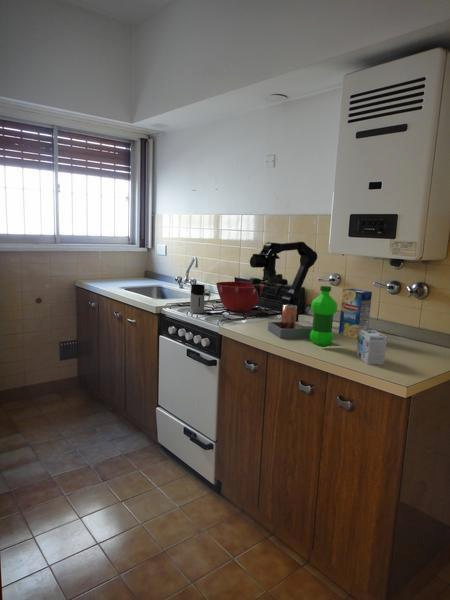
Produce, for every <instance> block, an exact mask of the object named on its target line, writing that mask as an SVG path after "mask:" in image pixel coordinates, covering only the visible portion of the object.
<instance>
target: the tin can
mask: <svg viewBox="0 0 450 600" xmlns="http://www.w3.org/2000/svg"><path fill="white" fill-rule="evenodd" d="M296 313H297V306H296V305H291V304H282V309H281V318H280V319H281V321H280V322H281V328H282V329H295V323H296Z"/></svg>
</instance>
